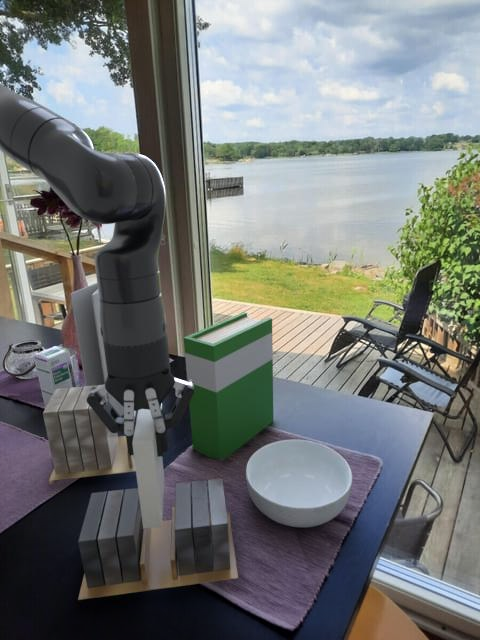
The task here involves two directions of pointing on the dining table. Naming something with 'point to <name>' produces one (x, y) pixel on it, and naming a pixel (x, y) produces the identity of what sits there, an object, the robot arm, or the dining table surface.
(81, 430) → the beige rack
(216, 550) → the grey rack
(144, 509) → the white book
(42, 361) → the syrup box
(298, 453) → the cereal bowl
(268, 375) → the hardback book
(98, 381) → the grey box
